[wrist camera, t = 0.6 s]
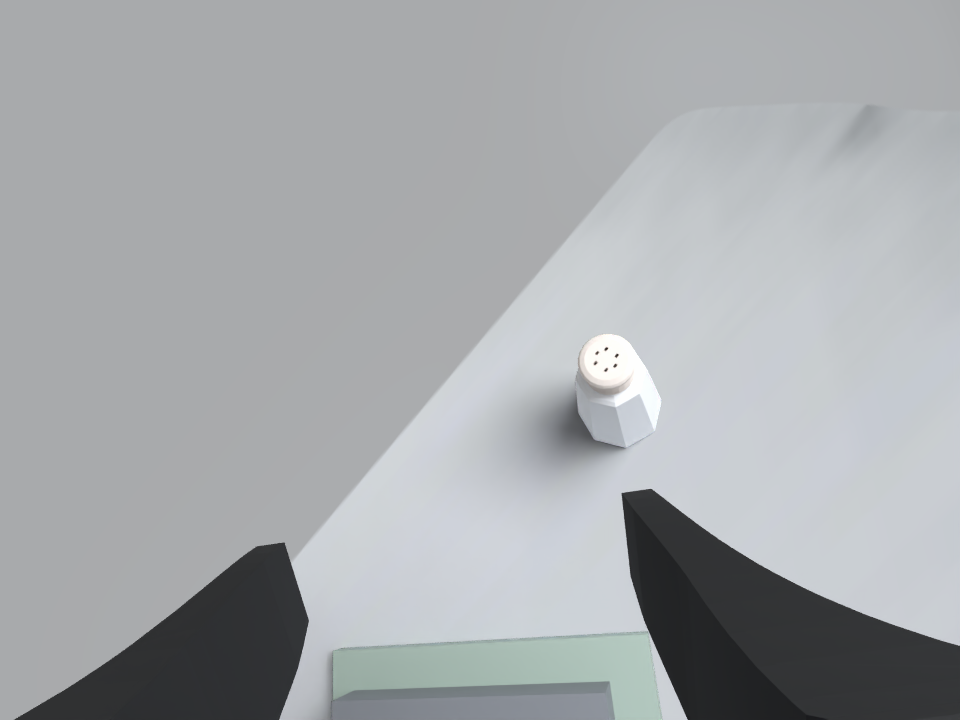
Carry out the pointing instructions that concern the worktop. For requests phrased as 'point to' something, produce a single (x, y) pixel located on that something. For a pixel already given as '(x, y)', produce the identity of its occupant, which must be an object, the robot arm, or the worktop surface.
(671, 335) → the worktop surface
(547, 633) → the worktop surface
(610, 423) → the pepper shaker
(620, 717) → the ridge stand
